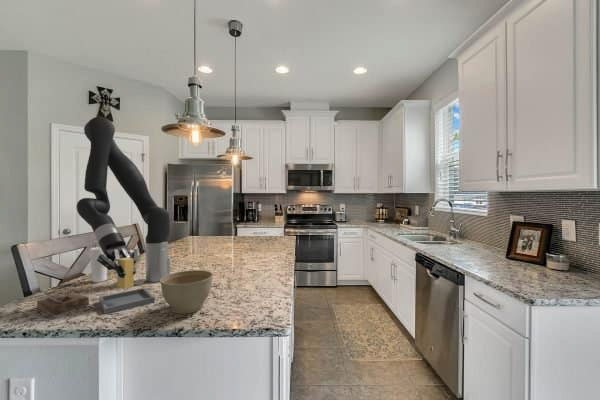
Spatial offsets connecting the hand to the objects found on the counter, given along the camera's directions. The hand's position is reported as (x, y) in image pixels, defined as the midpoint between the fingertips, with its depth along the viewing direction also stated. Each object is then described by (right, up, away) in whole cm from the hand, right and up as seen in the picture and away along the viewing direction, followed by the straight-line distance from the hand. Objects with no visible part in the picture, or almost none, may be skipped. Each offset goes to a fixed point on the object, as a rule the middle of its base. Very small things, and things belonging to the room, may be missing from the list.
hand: (128, 275), depth 97 cm
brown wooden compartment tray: (-21, -10, -2) cm, 24 cm away
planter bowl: (+23, -10, -5) cm, 26 cm away
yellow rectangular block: (-2, -4, +1) cm, 5 cm away
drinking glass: (-30, -10, +28) cm, 42 cm away
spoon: (-10, -11, +16) cm, 22 cm away
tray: (-1, -10, +1) cm, 10 cm away
